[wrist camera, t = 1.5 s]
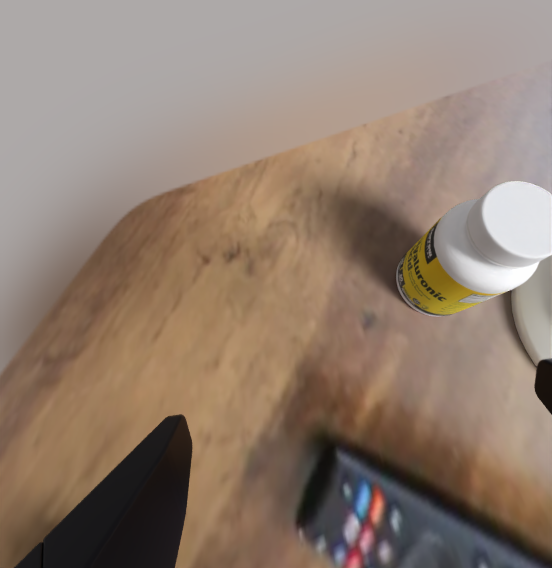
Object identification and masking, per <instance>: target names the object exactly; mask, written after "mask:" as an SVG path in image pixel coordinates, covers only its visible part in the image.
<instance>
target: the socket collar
mask: <svg viewBox="0 0 552 568" xmlns="http://www.w3.org/2000/svg"><path fill="white" fill-rule="evenodd" d="M511 304H512V313H513V318H514V322H515V326H516V329H517V331H518V334H519V337H520V339H521V341H522V343H523V345H524V347H525V349H526V351H527V353H528V354H529V356H530V357H531V359H532V361H533V362H534V364H535V365H536V366H537V365H538V363H539V361H540V360H542V359H548V358H552V255H551V256H549V257H547V258H545V259H543V260H541V261H539V264H538V266H537V268H536V270H535V272H534V273H533V275H532V276H531V277H530V278H529V279H528V280H527V281H526V282H524V283H523V284H521V285H520V286H518V287H516V288H514V289H512V292H511Z"/></svg>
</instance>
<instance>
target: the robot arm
mask: <svg viewBox="0 0 552 568" xmlns="http://www.w3.org/2000/svg"><path fill="white" fill-rule="evenodd" d="M535 392H536V394H537V396H538V398H539V399H540V400H541V402H542V403H543V404H544V405H545V407H546V408H547V409H548V411H549V412H550V413H551V414H552V358H548V359H542V360H540V361H539V363H538V365H537V371H536V379H535ZM191 458H192V439H191V436H190V432H189V429H188V425H187V422H186V418H185V417H184V415H182V414H180V415H173V416H168V417H166V418H165V419H164V420H163V421H162V422H161V423H160V424H159V425H158V426H157V427H156V428H155V429H154V430H153V431H152V432H151V433H150V434H149V435H148V436H147V437H146V438H145V439H144V440H143V441H142V442H141V443H140V444H139V445H138V446H137V447H136V448H135V449H134V450H133V451H132V452H131V453H130V454H129V455H128V456H127V457H126V458H125V459H124V460H123V461H122V462H121V463H119V464H118V465H117V466H116V467H115V468H114V469H113V470H112V471H111V472H110V473H109V474H108V475H107V476H106V477H105V478H104V479H103V480H102V481H101V482H100V483H99V484H98V485H97V486H96V487H95V488H94V489H93V490H92V491H91V492H90V493H89V494H88V495H87V496H86V497H85V498H84V499H83V500H82V501H81V502H80V503H79V504H78V505H77V506H76V507H75V508H74V509H73V510H72V511H71V512H70V513H69V514H68V515H67V516H66V517H65V518H64V519H63V520H62V521H61V522H60V523H59V524H58V525H57V526H56V527H55V528H54V529H53V530H52V531H51V532H50V533H49V534H48V535H47V536H46V537H45V538H44V540H43V542H40V543H39V544H38V545H37V546H36V547H35V548H34V549H33V550H32V551H31V552H30V553H29V554H28V555H27V556H26V557H25V558H24V559H23V560H21V561H20V562H19V563H18V564H17V565H16V566H15V567H14V568H175V564H176V560H177V555H178V550H179V545H180V540H181V535H182V530H183V525H184V520H185V514H186V507H187V498H188V488H189V478H190V468H191Z"/></svg>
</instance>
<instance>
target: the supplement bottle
mask: <svg viewBox="0 0 552 568" xmlns="http://www.w3.org/2000/svg"><path fill="white" fill-rule="evenodd" d="M551 255H552V195H551V194H550V193H549V192H548V191H546V190H544V189H543V188H541V187H539V186H536V185H534V184H531V183H527V182H522V181H509V182H505V183H501V184H499V185H497V186H495V187H493V188H492V189H490V190H489V191H488V192H487V193H486V194H485V195H484V196H482V197H481V198H480V199H474V200H470V201H466V202H463V203H461V204H458V205H456V206H455V207H453V208H452V209H450V210H449V211H448V212H447V213H446V214H445V215H444V216H443V217H441V218H440V219H439V220H438V221H437V222H436V223H435V225H434V226H433V227H432V228H431V229H430V230H429V231H428V232H427V233H426V234H425V235H424V236H423V237H422V238H421V239H420V240H419V241H418V242H417V243H416V244H415V245H414V246H413V247H412V248H411V249H410V250H409V251H408V252H407V253H406V254H405V256H404V257H403V258H402V260H401V261H400V263H399V265H398V268H397V272H396V281H397V286H398V289H399V292H400V294H401V296H402V297H403V299H404V300H405V301H406V302H407V303H408V304H409V305H410V306H411V307H412V308H413V309H415V310H416V311H418V312H420V313H422V314H425V315H429V316H437V317H440V316H447V315H451V314H454V313H457V312H459V311H462V310H464V309H467V308H469V307H471V306H474V305H476V304H479V303H481V302H483V301H486V300H488V299H491V298H493V297H495V296H498V295H500V294H503V293H505V292H507V291H510V290H512V289H514V288H516V287H518V286H520V285H521V284H523V283H524V282H526V281H527V280H528V279H529V278H530V277H531V276H532V275H533V273H534V272H535V270H536V268H537V266H538V264H539V261H541V260H543V259H545V258H547V257H549V256H551Z"/></svg>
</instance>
